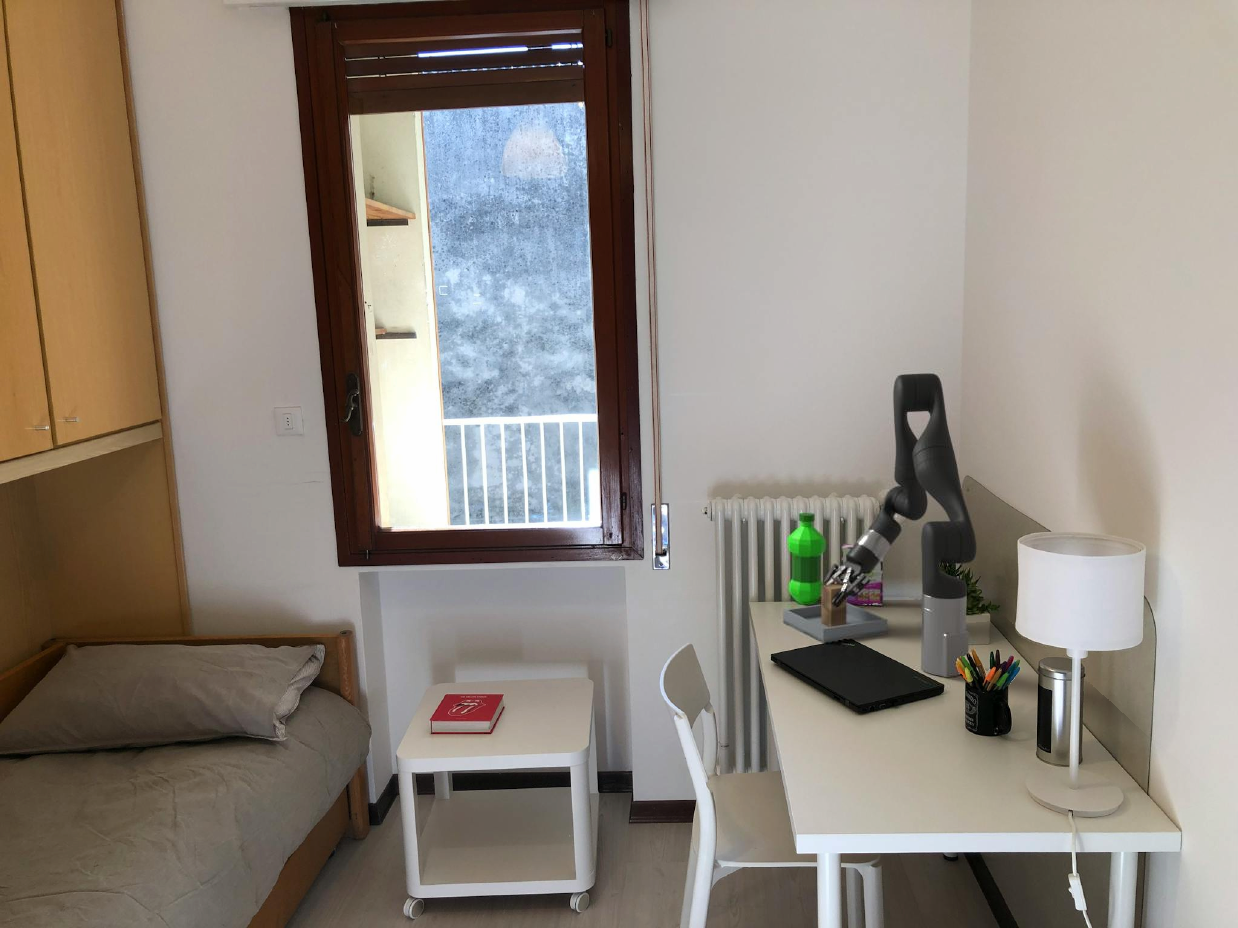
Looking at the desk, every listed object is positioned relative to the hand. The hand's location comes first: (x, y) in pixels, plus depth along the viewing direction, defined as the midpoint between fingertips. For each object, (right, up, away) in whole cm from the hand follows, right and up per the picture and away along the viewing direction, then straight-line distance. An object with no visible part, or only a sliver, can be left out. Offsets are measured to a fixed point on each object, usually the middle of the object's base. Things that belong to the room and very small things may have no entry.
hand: (828, 602), depth 238 cm
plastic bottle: (0, -4, +26) cm, 27 cm away
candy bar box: (+15, -4, +24) cm, 28 cm away
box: (+2, -7, +2) cm, 7 cm away
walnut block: (+2, -6, +2) cm, 6 cm away
